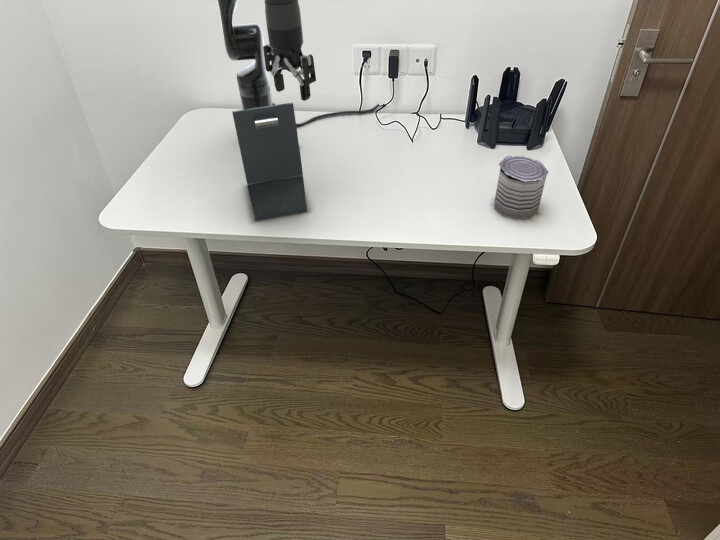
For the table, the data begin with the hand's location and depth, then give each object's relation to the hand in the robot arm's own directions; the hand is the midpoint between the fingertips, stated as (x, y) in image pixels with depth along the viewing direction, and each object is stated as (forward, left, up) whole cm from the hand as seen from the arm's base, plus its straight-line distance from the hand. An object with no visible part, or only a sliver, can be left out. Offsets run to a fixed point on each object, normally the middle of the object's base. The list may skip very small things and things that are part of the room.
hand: (292, 94), depth 124 cm
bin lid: (+11, +2, -8) cm, 13 cm away
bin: (+7, -4, -27) cm, 29 cm away
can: (-28, +48, -28) cm, 62 cm away
